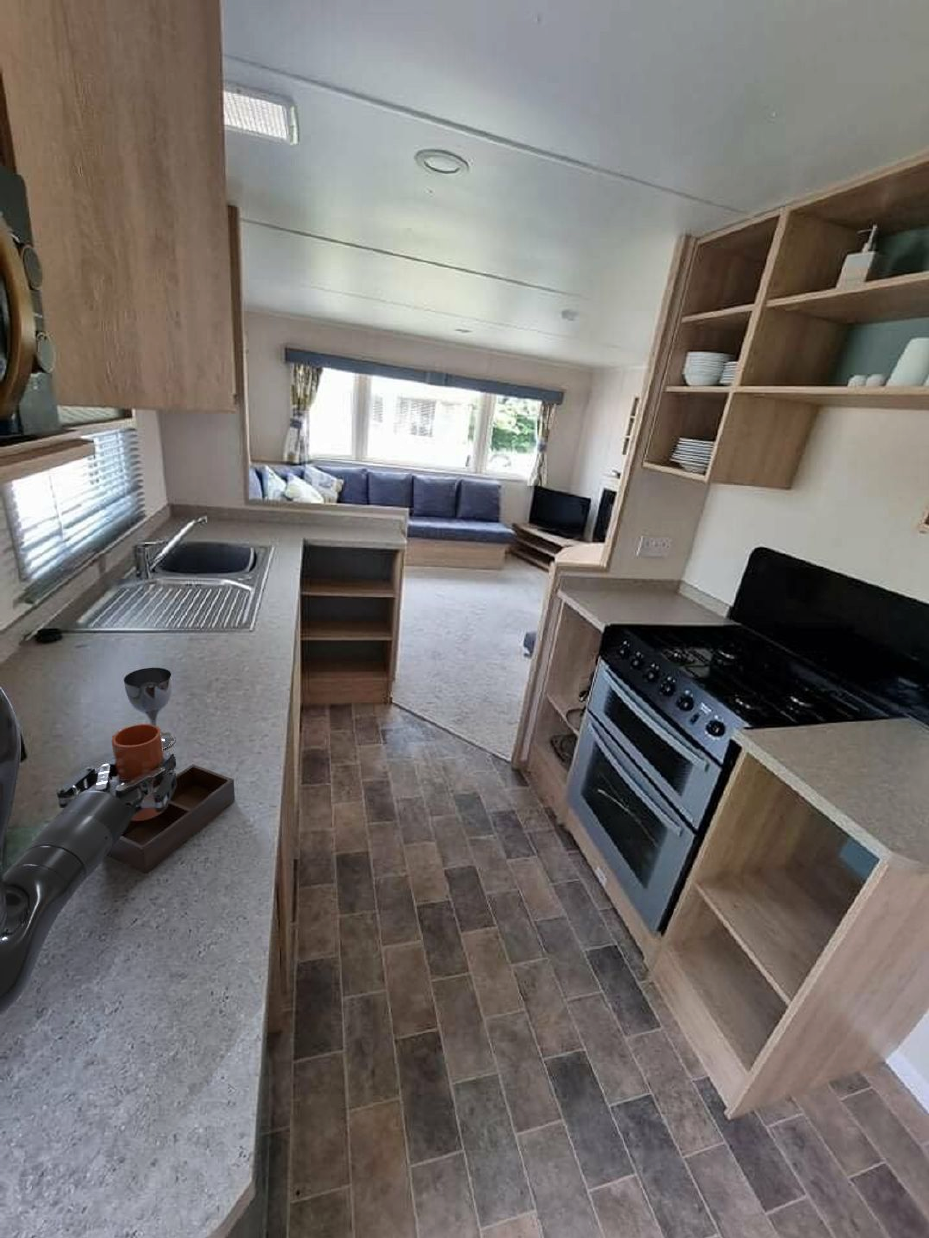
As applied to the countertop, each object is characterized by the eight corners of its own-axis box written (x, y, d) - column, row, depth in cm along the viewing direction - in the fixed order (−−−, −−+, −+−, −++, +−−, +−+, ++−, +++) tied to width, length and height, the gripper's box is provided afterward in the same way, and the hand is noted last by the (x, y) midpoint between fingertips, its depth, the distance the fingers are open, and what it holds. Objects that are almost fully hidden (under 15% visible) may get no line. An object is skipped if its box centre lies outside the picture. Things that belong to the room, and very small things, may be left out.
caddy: (101, 852, 79) (97, 829, 77) (194, 784, 95) (192, 763, 93) (146, 873, 76) (143, 850, 75) (235, 800, 92) (233, 779, 91)
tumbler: (113, 813, 77) (101, 739, 73) (149, 789, 83) (139, 719, 78) (143, 826, 76) (133, 751, 71) (177, 801, 81) (170, 730, 76)
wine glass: (168, 726, 110) (161, 663, 105) (184, 743, 105) (178, 678, 100) (126, 740, 104) (117, 674, 99) (141, 759, 100) (132, 691, 94)
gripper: (136, 817, 62) (196, 738, 78) (9, 811, 61) (96, 732, 77) (143, 864, 65) (199, 779, 81) (22, 860, 64) (103, 774, 79)
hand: (149, 756), depth 79 cm, fingers closed on tumbler, 6 cm apart
